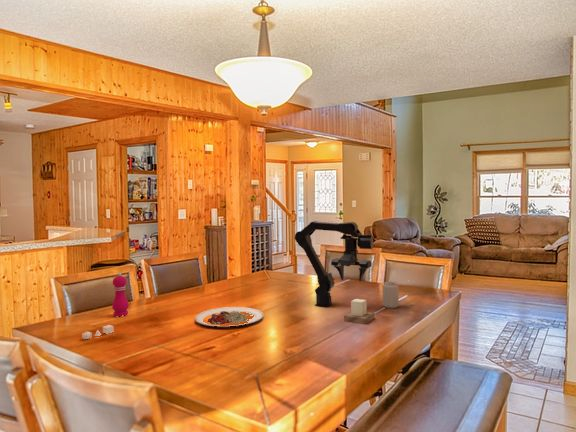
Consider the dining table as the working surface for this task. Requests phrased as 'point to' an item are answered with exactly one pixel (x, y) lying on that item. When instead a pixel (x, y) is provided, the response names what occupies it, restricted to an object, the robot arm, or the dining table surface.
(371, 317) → the plinth
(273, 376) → the dining table surface
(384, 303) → the can
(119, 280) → the pepper mill
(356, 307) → the block
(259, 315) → the plated food
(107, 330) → the game pieces
